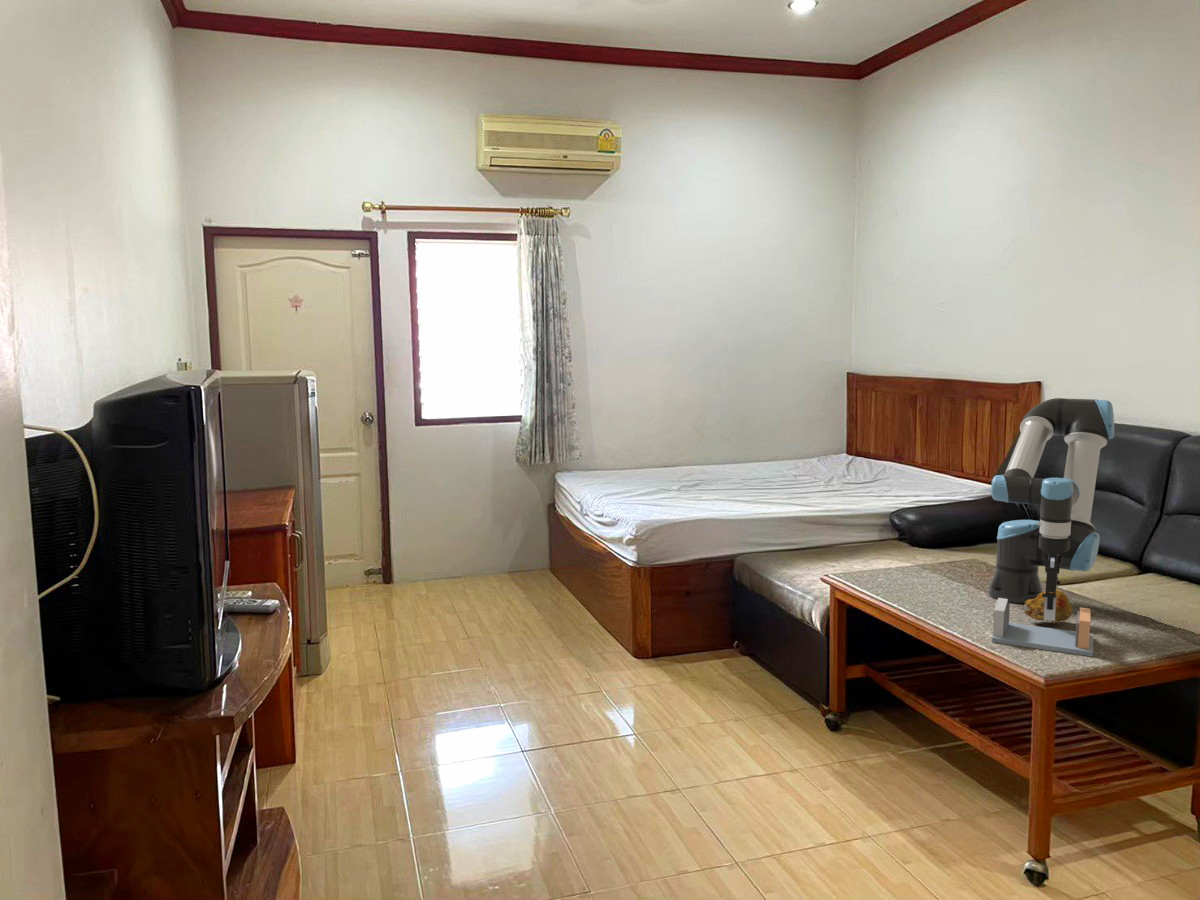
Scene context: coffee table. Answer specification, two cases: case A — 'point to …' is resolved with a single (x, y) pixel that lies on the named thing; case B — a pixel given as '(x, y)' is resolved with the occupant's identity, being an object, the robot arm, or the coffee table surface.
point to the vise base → (1034, 634)
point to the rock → (1036, 607)
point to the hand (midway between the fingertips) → (1050, 613)
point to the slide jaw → (1083, 628)
